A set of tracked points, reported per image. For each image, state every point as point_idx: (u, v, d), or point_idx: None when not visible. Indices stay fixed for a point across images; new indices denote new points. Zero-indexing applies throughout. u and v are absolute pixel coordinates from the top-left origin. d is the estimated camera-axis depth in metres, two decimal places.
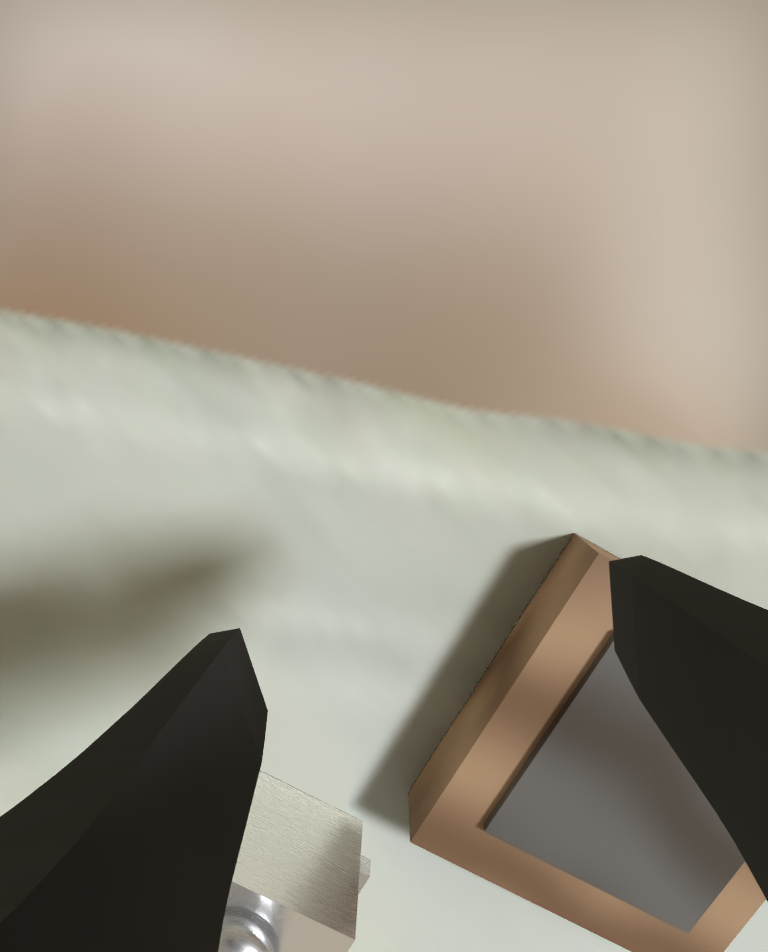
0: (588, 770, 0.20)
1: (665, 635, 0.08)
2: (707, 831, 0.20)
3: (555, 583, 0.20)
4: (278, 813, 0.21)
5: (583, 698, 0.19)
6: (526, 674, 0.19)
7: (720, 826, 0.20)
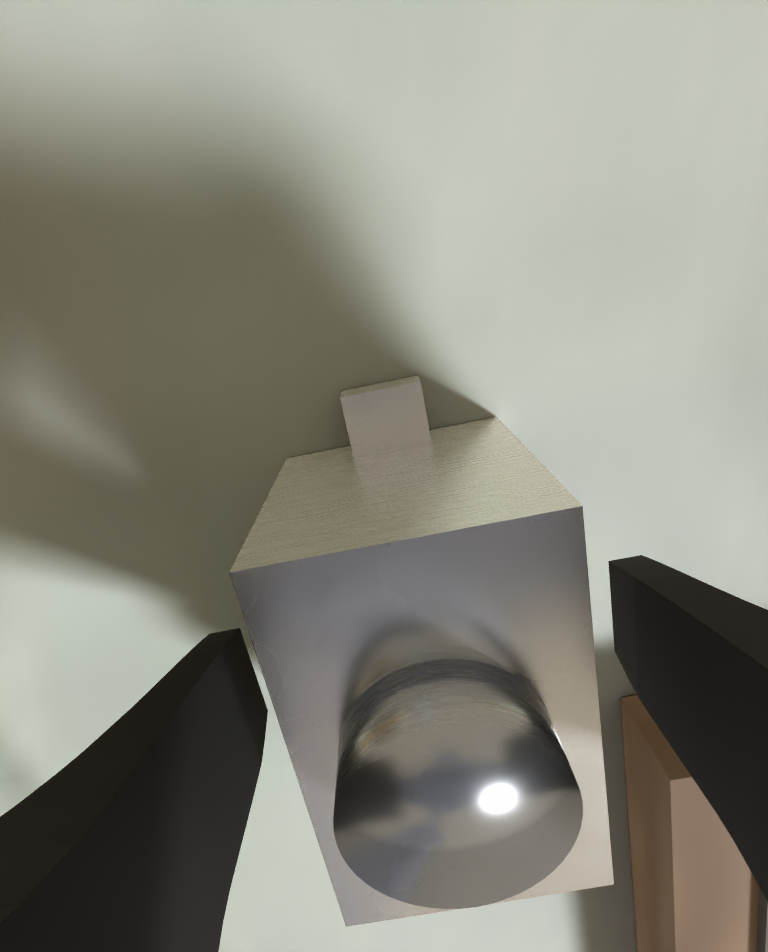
0: None
1: (665, 635, 0.08)
2: None
3: None
4: None
5: None
6: None
7: None
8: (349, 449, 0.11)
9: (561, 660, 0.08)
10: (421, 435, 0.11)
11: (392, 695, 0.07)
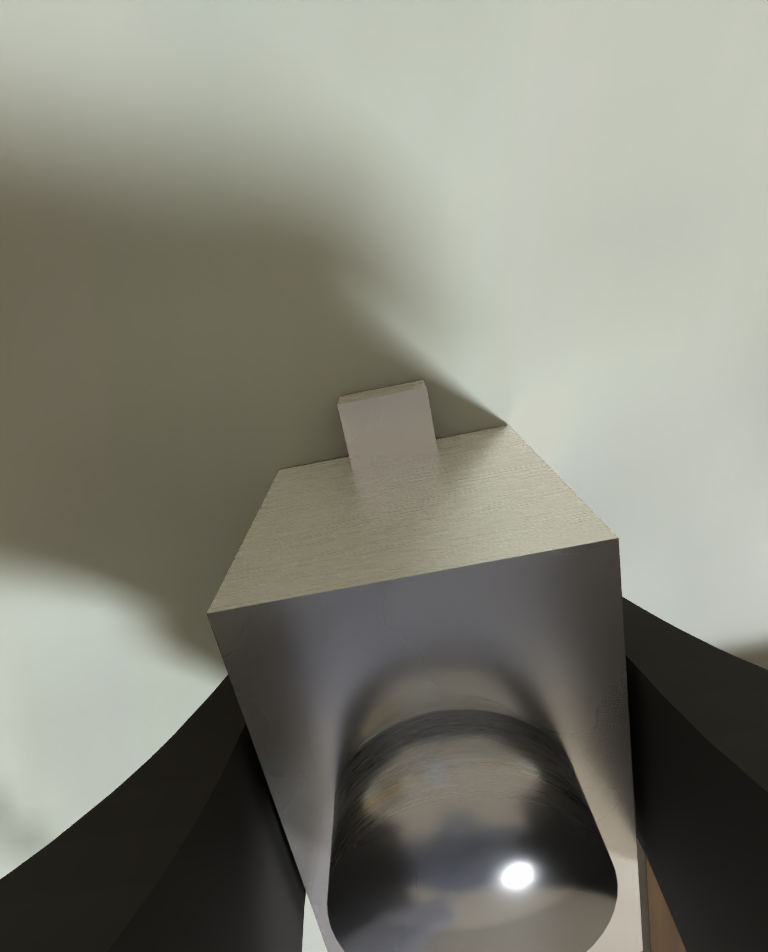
0: None
1: None
2: None
3: None
4: None
5: None
6: None
7: None
8: (348, 460, 0.10)
9: (590, 710, 0.07)
10: (427, 446, 0.10)
11: (395, 754, 0.06)
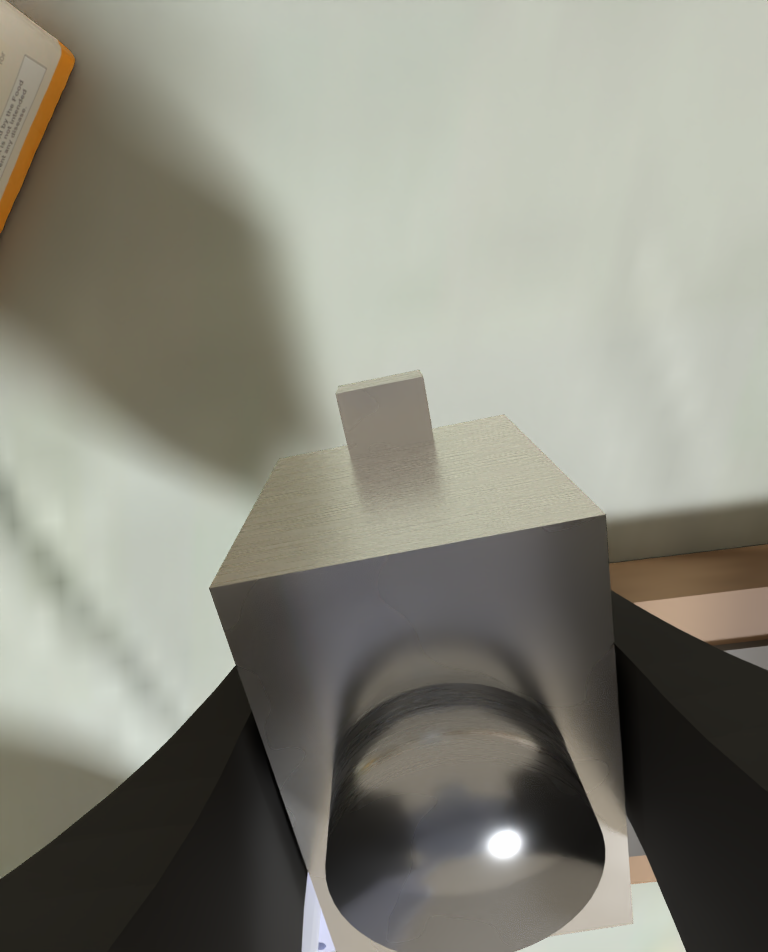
0: None
1: None
2: None
3: None
4: None
5: None
6: None
7: None
8: (346, 449, 0.11)
9: (579, 684, 0.07)
10: (423, 434, 0.10)
11: (390, 724, 0.06)
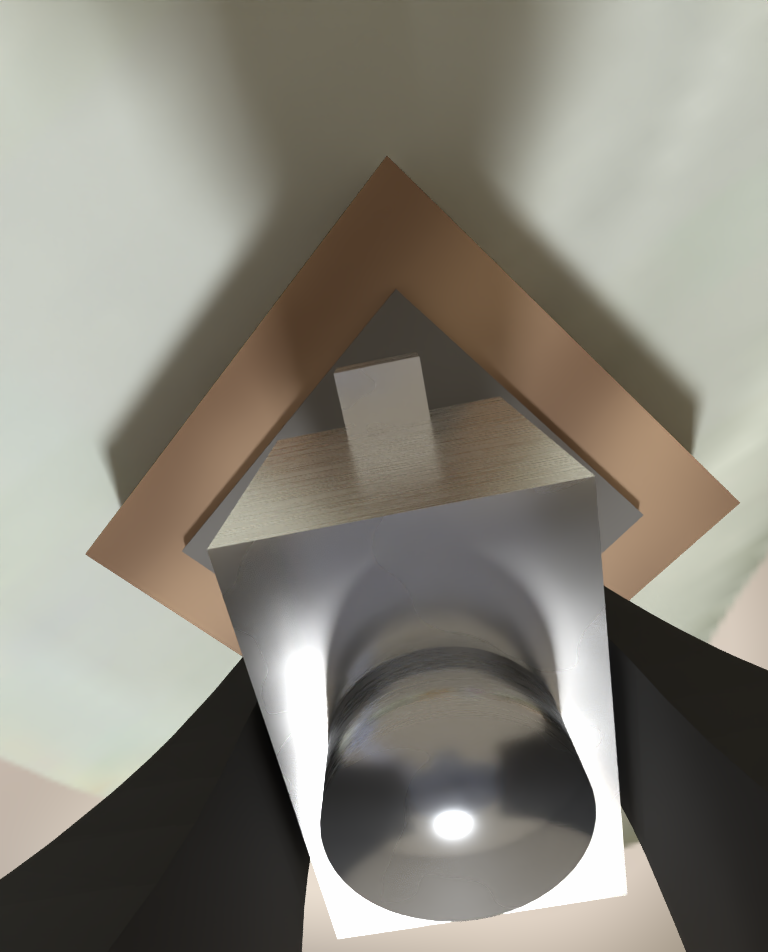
0: None
1: None
2: None
3: None
4: None
5: None
6: (615, 392, 0.14)
7: None
8: (344, 430, 0.11)
9: (571, 648, 0.07)
10: (420, 414, 0.10)
11: (384, 685, 0.07)
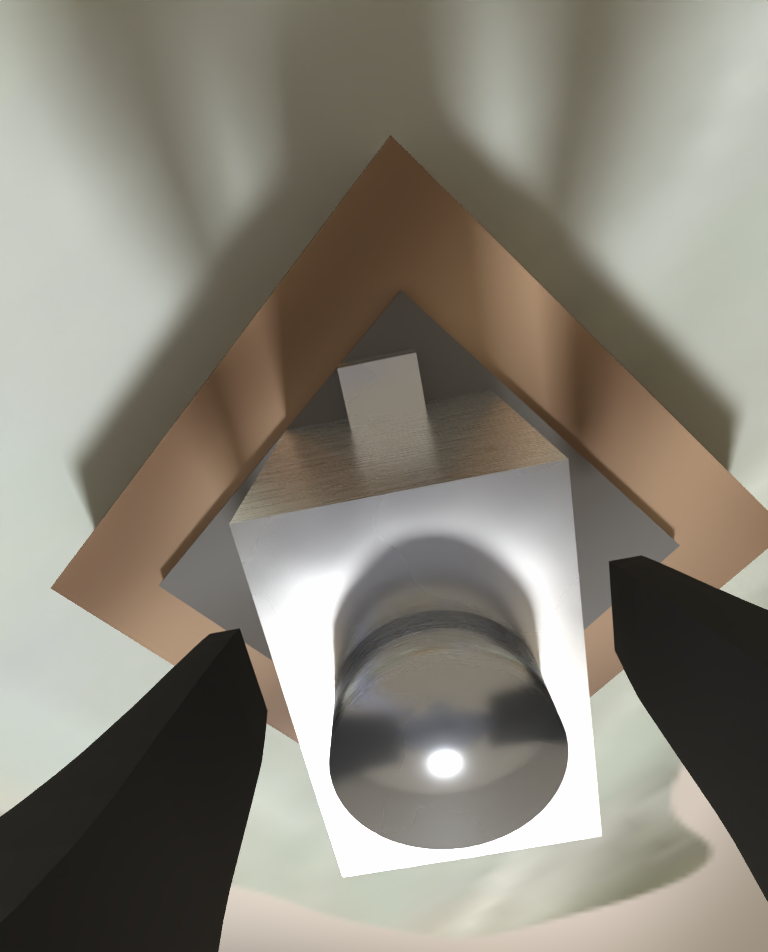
0: None
1: (664, 635, 0.08)
2: None
3: None
4: None
5: (597, 486, 0.13)
6: (650, 408, 0.12)
7: None
8: (346, 421, 0.12)
9: (548, 612, 0.08)
10: (416, 406, 0.11)
11: (385, 643, 0.08)
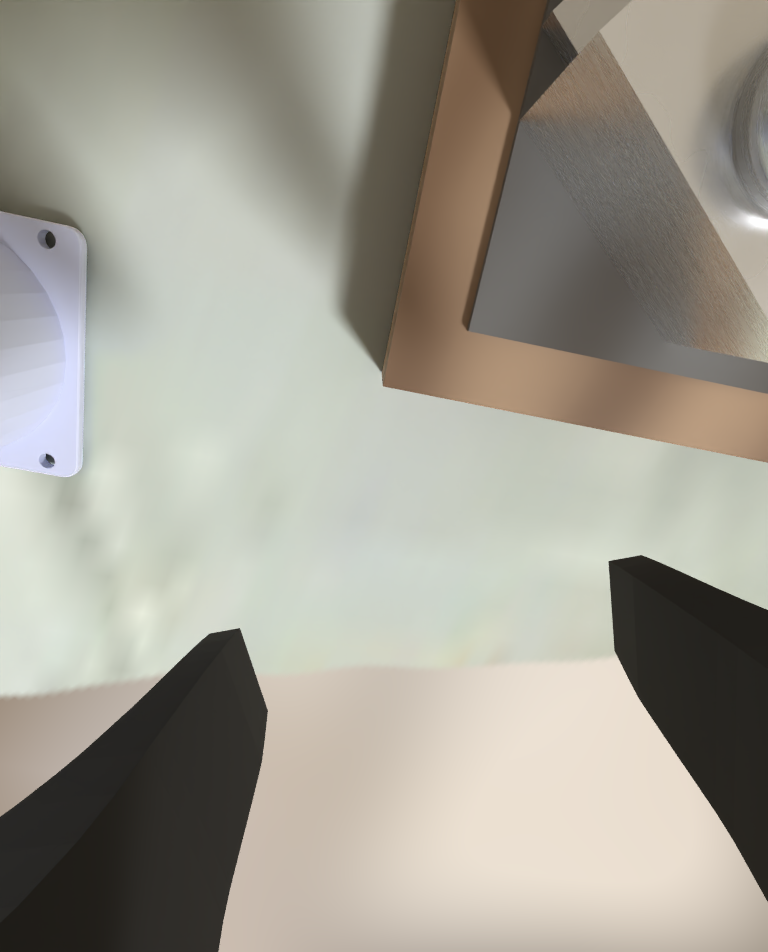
0: None
1: (664, 635, 0.08)
2: (630, 289, 0.15)
3: None
4: None
5: None
6: None
7: None
8: None
9: None
10: None
11: None
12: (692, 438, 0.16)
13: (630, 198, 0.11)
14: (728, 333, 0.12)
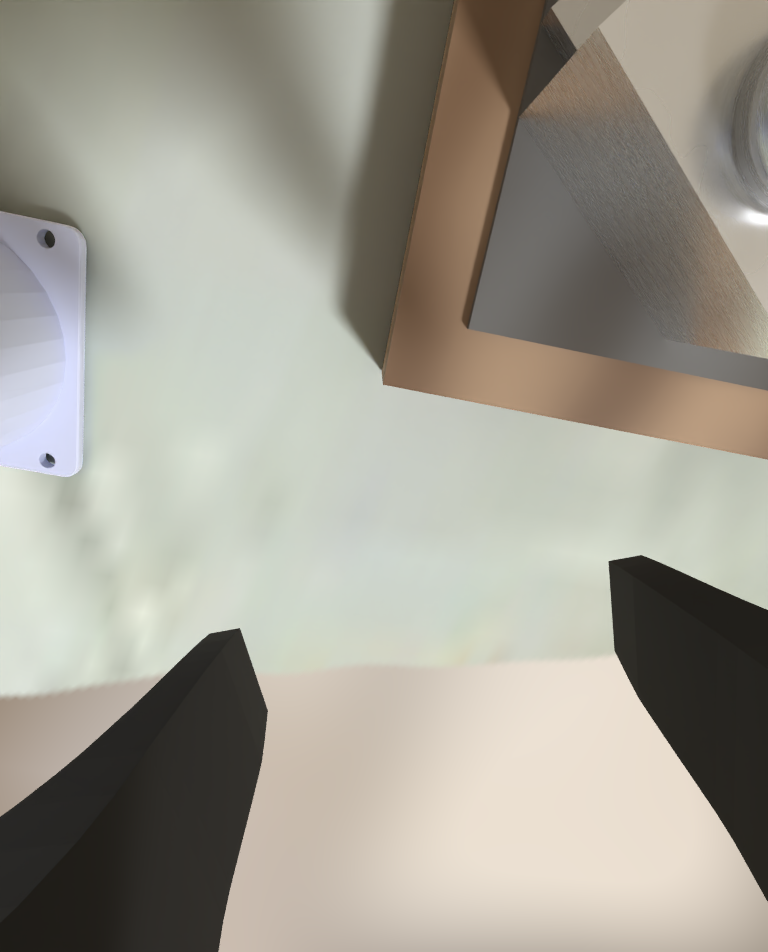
0: None
1: (665, 635, 0.08)
2: (630, 286, 0.15)
3: None
4: None
5: None
6: None
7: None
8: None
9: None
10: None
11: None
12: (692, 435, 0.16)
13: (630, 195, 0.11)
14: (729, 329, 0.12)
